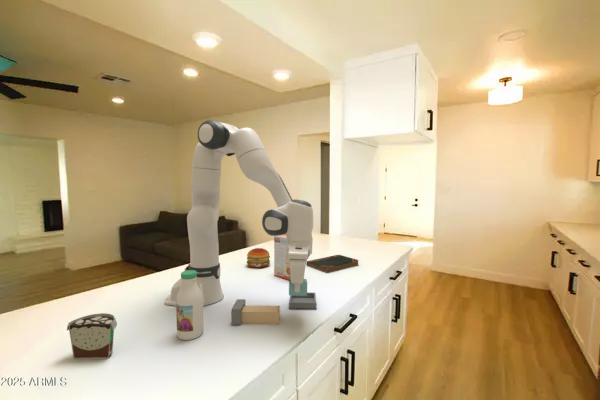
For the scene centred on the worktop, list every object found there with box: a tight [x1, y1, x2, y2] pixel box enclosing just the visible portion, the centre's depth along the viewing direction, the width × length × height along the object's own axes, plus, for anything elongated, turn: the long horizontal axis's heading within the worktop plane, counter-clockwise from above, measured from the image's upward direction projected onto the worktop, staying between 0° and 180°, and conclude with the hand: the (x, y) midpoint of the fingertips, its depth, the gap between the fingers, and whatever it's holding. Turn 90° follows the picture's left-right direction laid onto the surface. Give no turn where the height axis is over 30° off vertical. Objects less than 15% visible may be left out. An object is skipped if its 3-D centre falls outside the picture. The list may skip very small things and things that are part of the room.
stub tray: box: [288, 291, 317, 310], centre depth 115 cm, size 10×10×2 cm
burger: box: [246, 247, 271, 269], centre depth 166 cm, size 13×14×10 cm
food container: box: [66, 312, 118, 360], centre depth 82 cm, size 12×6×10 cm, turn 92°
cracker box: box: [273, 235, 291, 281], centre depth 145 cm, size 14×6×21 cm, turn 47°
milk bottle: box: [175, 270, 204, 341], centre depth 91 cm, size 8×8×20 cm
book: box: [305, 254, 359, 274], centre depth 167 cm, size 17×4×25 cm
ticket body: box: [230, 298, 281, 326], centre depth 101 cm, size 16×8×6 cm, turn 89°
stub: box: [288, 278, 308, 297], centre depth 100 cm, size 6×5×4 cm
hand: (297, 287), depth 100 cm, fingers closed on stub, 5 cm apart
